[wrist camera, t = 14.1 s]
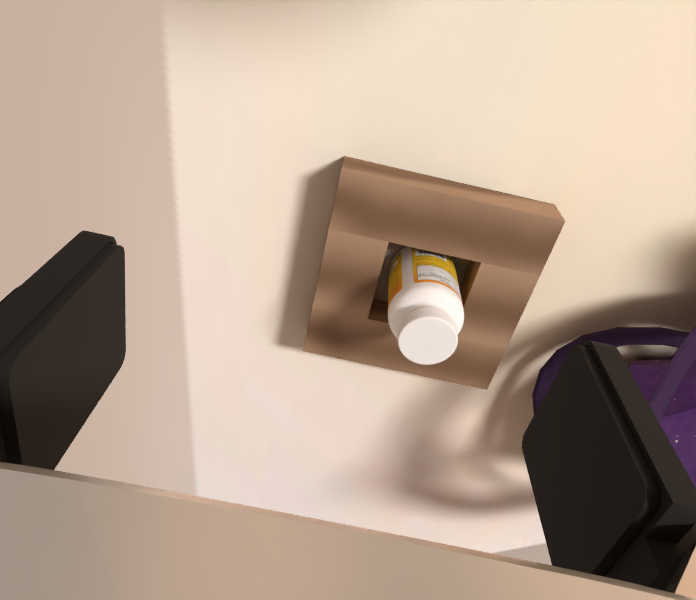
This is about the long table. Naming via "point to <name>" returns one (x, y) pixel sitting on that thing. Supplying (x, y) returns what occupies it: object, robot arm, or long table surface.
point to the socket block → (436, 236)
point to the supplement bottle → (424, 305)
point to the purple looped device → (650, 382)
